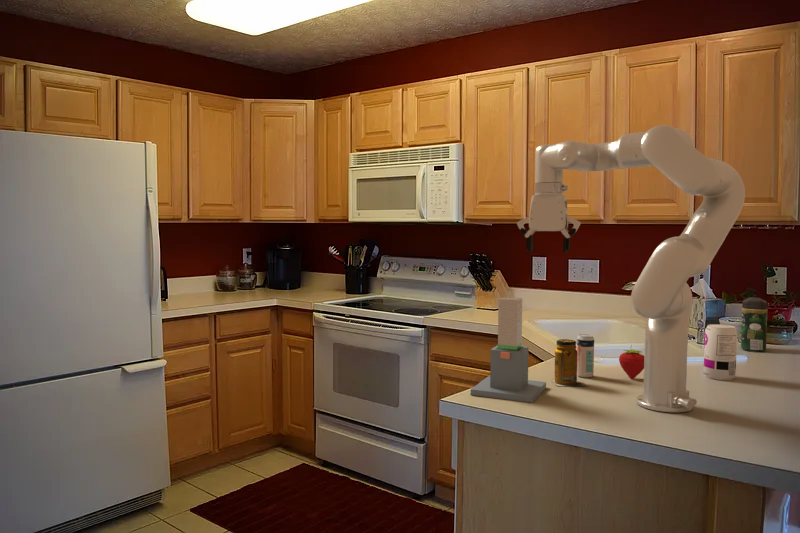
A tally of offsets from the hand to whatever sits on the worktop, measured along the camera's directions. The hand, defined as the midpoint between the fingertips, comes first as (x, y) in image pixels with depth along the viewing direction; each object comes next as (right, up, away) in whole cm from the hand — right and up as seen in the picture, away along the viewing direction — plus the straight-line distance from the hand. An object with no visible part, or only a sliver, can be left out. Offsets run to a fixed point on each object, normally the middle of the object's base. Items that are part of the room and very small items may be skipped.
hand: (547, 252), depth 170 cm
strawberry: (+26, -36, +5) cm, 45 cm away
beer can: (+13, -36, +8) cm, 39 cm away
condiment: (+6, -37, 0) cm, 37 cm away
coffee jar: (+85, -34, +48) cm, 103 cm away
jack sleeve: (-12, -37, -8) cm, 40 cm away
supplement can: (+51, -36, +7) cm, 63 cm away
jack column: (-12, -29, -9) cm, 33 cm away
